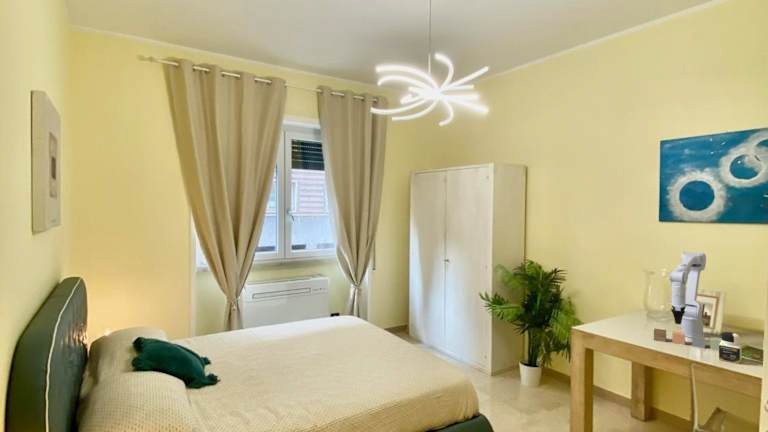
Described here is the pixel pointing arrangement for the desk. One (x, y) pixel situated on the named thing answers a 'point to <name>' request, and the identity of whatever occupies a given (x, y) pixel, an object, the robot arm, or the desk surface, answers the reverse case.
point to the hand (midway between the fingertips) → (678, 322)
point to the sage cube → (715, 343)
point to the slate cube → (698, 341)
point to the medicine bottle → (730, 348)
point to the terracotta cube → (678, 338)
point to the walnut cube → (660, 335)
